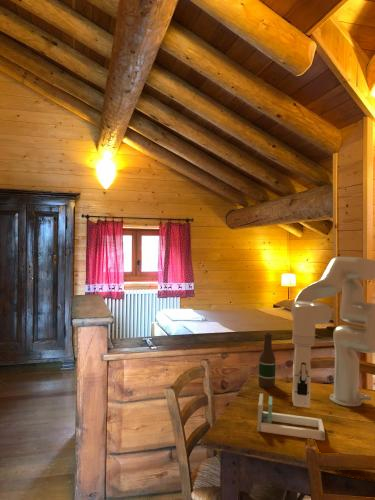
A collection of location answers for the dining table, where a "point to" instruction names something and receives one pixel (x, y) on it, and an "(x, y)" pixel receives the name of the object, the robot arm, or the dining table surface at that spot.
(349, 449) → the dining table surface
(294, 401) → the syrup box
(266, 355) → the beer bottle
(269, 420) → the plate
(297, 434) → the white angular frame
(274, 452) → the dining table surface
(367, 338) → the robot arm
